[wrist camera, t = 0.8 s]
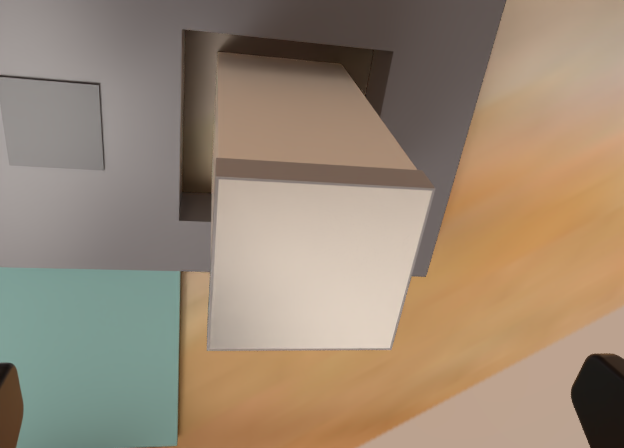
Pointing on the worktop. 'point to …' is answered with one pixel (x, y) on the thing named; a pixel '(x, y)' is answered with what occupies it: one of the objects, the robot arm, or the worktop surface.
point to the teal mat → (93, 355)
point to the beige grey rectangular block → (307, 211)
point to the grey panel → (170, 107)
